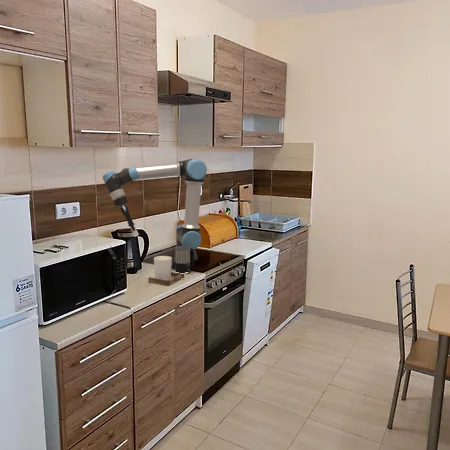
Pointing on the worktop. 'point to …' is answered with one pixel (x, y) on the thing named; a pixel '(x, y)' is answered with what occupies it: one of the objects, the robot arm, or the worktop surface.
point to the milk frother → (183, 259)
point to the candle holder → (163, 267)
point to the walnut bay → (167, 282)
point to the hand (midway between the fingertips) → (136, 235)
